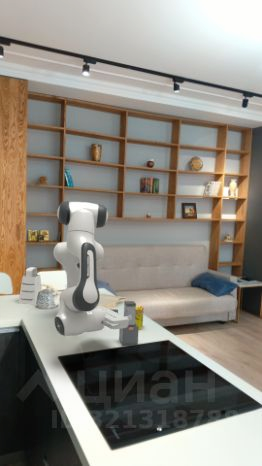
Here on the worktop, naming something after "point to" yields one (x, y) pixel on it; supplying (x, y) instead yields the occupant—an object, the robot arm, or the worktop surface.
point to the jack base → (129, 335)
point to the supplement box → (139, 316)
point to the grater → (30, 287)
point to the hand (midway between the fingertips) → (123, 314)
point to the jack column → (130, 311)
